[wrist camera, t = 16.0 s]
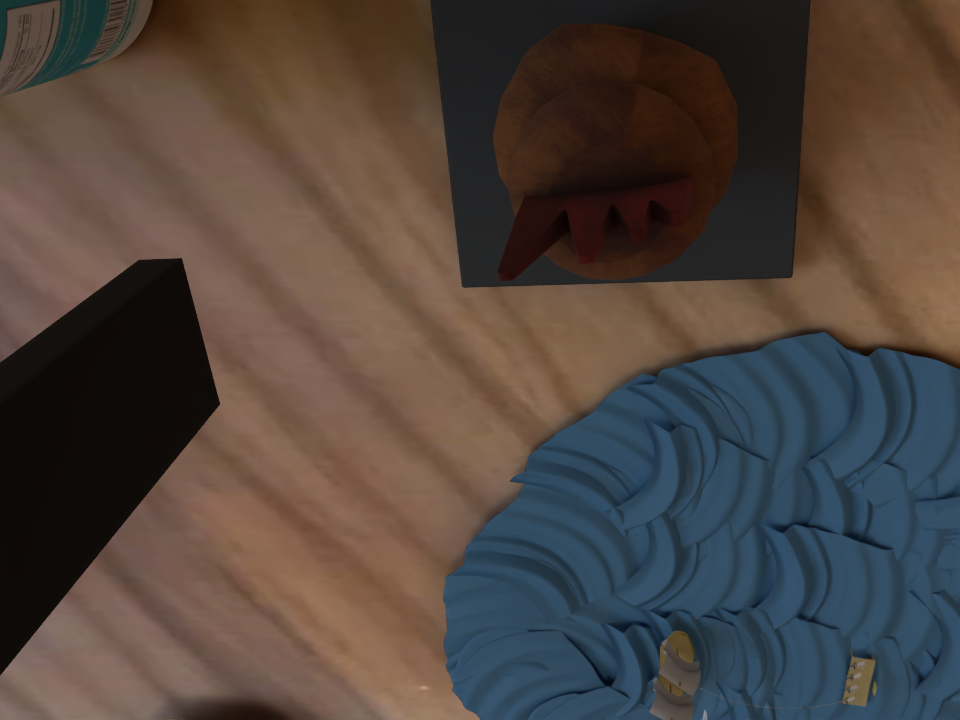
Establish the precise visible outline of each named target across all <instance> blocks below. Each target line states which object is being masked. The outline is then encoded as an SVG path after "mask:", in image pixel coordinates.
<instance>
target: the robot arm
mask: <svg viewBox="0 0 960 720" xmlns="http://www.w3.org/2000/svg"><path fill="white" fill-rule="evenodd" d="M219 405H220V402H219V398H218V395H217V391H216V387H215V383H214V379H213V375H212V372H211V368H210V364H209V360H208V356H207V353H206V349H205V345H204V341H203V337H202V333H201V330H200V326H199V322H198V318H197V314H196V311H195V307H194V303H193V299H192V295H191V291H190V288H189V284H188V280H187V276H186V272H185V269H184V265H183V261H182V258H177V259H151V260H138V261H137V262H136V263H134V264H133V265H132V266H130V267H129V268H127V269H126V270H125V271H123V272H122V273H121V274H119V275H118V276H117V277H115V278H114V279H113V280H111V281H110V282H109V283H107V284H106V285H105V286H103V287H102V288H100V289H99V290H98V291H96V292H95V293H94V294H92V295H91V296H90V297H88V298H87V299H86V300H84V301H83V302H82V303H80V304H79V305H78V306H76V307H75V308H73V309H72V310H71V311H69V312H68V313H67V314H65V315H64V316H63V317H61V318H60V319H59V320H57V321H56V322H55V323H53V324H52V325H51V326H49V327H48V328H46V329H45V330H44V331H42V332H41V333H40V334H38V335H37V336H36V337H34V338H33V339H32V340H30V341H29V342H28V343H26V344H25V345H24V346H22V347H21V348H19V349H18V350H17V351H15V352H14V353H13V354H11V355H10V356H9V357H7V358H6V359H5V360H3V361H2V362H1V363H0V675H1V674H2V673H3V671H4V670H5V669H6V668H7V667H8V665H9V664H10V663H11V662H12V660H13V659H14V658H15V657H16V655H17V654H18V653H19V652H20V650H21V649H22V648H23V647H24V646H25V644H26V643H27V642H28V641H29V639H30V638H31V637H32V636H33V634H34V633H35V632H36V631H37V630H38V628H39V627H40V626H41V625H42V623H43V622H44V621H45V620H46V618H47V617H48V616H49V615H50V613H51V612H52V611H53V610H54V609H55V607H56V606H57V605H58V604H59V602H60V601H61V600H62V599H63V597H64V596H65V595H66V594H67V592H68V591H69V590H70V589H71V588H72V586H73V585H74V584H75V583H76V581H77V580H78V579H79V578H80V576H81V575H82V574H83V573H84V571H85V570H86V569H87V568H88V567H89V565H90V564H91V563H92V562H93V560H94V559H95V558H96V557H97V555H98V554H99V553H100V552H101V551H102V549H103V548H104V547H105V546H106V544H107V543H108V542H109V541H110V539H111V538H112V537H113V536H114V534H115V533H116V532H117V531H118V530H119V528H120V527H121V526H122V525H123V523H124V522H125V521H126V520H127V518H128V517H129V516H130V515H131V513H132V512H133V511H134V510H135V509H136V507H137V506H138V505H139V504H140V502H141V501H142V500H143V499H144V497H145V496H146V495H147V494H148V492H149V491H150V490H151V489H152V488H153V486H154V485H155V484H156V483H157V481H158V480H159V479H160V478H161V476H162V475H163V474H164V473H165V471H166V470H167V469H168V468H169V467H170V465H171V464H172V463H173V462H174V460H175V459H176V458H177V457H178V455H179V454H180V453H181V452H182V451H183V449H184V448H185V447H186V446H187V444H188V443H189V442H190V441H191V439H192V438H193V437H194V436H195V434H196V433H197V432H198V431H199V430H200V428H201V427H202V426H203V425H204V423H205V422H206V421H207V420H208V418H209V417H210V416H211V415H212V413H213V412H214V411H215V410H216V409H217V407H218V406H219Z"/></svg>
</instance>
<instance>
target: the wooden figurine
mask: <svg viewBox="0 0 960 720" xmlns="http://www.w3.org/2000/svg"><path fill="white" fill-rule="evenodd" d="M493 142H494V148H495V154H496V160H497V165H498V171H499V176H500V178H501V179H502V181H503V182H504V184H505V185H506V187H507V188H508V192H509V196H510V200H511V204H512V209H513V213H514V216H515V217H516V218H515V221H514V224H513V227H512V230H511V233H510V236H509V239H508V242H507V245H506V248H505V251H504V254H503V257H502V259H501V262H500V265H499V268H498V277H499V280H500V281H510V280H513V279H515V278H516V277H517V276H518V275H520V274H521V273H522V272H523V271H524V270H525V269H526V268H527V267H529V266H530V265H531V264H532V263H533V262H534V261H535V260H537V259H538V258H539V257H540V256H541V255H542V254H544V255H545V256H546V257H547V258H549V259H550V260H551V261H552V262H554V263H555V264H556V265H557V266H559V267H561V268H563V269H565V270H568V271H570V272H572V273H574V274H577V275H579V276H581V277H583V278H586V279H600V280H614V281H616V280H622V279H627V278H633V277H638V276H644V275H647V274H649V273H651V272H653V271H655V270H657V269H659V268H661V267H663V266H665V265H667V264H669V263H670V262H672V261H674V260H675V259H677V258H678V257H679V256H680V255H681V254H682V253H683V252H684V251H685V250H686V249H687V248H688V247H689V246H690V245H691V244H692V243H693V242H694V241H695V240H696V239H697V238H698V237H699V235H700V234H701V233H702V232H703V231H704V230H705V227H706V224H707V220H708V217H709V214H710V212H711V211H712V209H713V208H714V207H715V206H716V205H717V204H718V203H719V202H720V201H721V200H722V198H723V196H724V194H725V192H726V189H727V186H728V183H729V180H730V177H731V174H732V171H733V168H734V165H735V162H736V159H737V156H738V126H737V103H736V101H735V99H734V97H733V95H732V93H731V91H730V89H729V87H728V85H727V83H726V81H725V78H724V76H723V74H722V72H721V70H720V68H719V66H718V64H717V62H716V60H715V59H714V58H712V57H709V56H707V55H705V54H703V53H701V52H699V51H697V50H695V49H693V48H691V47H689V46H687V45H685V44H683V43H681V42H679V41H676V40H673V39H669V38H666V37H663V36H659V35H656V34H653V33H649V32H646V31H643V30H639V29H633V28H627V27H621V26H615V25H609V24H569V23H564V24H562V25H561V26H559V27H558V28H557V29H555V30H554V31H553V32H551V33H550V34H549V35H547V36H546V37H545V38H543V39H542V40H541V41H539V42H538V43H537V44H535V45H534V46H533V47H531V48H530V49H529V50H528V51H527V52H526V53H525V54H524V56H523V58H522V60H521V62H520V64H519V65H518V67H517V69H516V71H515V73H514V75H513V77H512V79H511V80H510V82H509V84H508V86H507V88H506V90H505V92H504V93H503V95H502V97H501V100H500V105H499V110H498V114H497V119H496V123H495V128H494V133H493Z"/></svg>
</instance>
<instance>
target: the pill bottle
mask: <svg viewBox="0 0 960 720" xmlns="http://www.w3.org/2000/svg"><path fill="white" fill-rule="evenodd" d="M152 3H153V0H0V97H2V96H5V95H8V94H11V93H14V92H17V91H20V90H23V89H26V88H29V87H33V86H36V85H39V84H42V83H45V82H48V81H51V80H54V79H57V78H60V77H63V76H66V75H69V74H72V73H75V72H78V71H82V70H85V69H88V68H90V67H93V66H96V65H98V64H101V63H104V62H106V61H108V60H110V59H112V58H114V57H116V56H117V55H119V54H120V53H122V52H123V51H124V50H125V49H127V48H128V47H129V46H130V45H131V44H132V43H133V41H134V40H135V39H136V38H137V36H138V35H139V34H140V32H141V31H142V29H143V27H144V25H145V23H146V21H147V19H148V16H149V14H150V11H151V7H152Z"/></svg>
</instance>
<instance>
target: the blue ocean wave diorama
mask: <svg viewBox="0 0 960 720" xmlns="http://www.w3.org/2000/svg"><path fill="white" fill-rule="evenodd" d="M509 482H517V483H526V484H525V485H524V486H523V488H522V490H521V492H520V494H519V496H518V497H517V499H516V500H515V501H514V502H513V503H511V504H510V505H509V506H508V507H507V508H505V509H504V510H503V511H502V512H501V513H499V514H498V515H497V516H495V517H494V518H493V519H491V520H490V521H489V522H488V523H487V524H486V525H485V527H484V528H483V530H482V531H481V532H480V533H479V534H478V535H477V536H476V537H475V538H474V539H473V540H472V542H471V543H470V544H469V545H468V546H467V547H466V549H465V561H464V565H463V566H461V567H460V568H458V569H457V570H456V571H455V572H454V573H453V574H450V575H448V576H446V583H445V590H444V596H443V601H444V603H445V607H446V617H447V633H446V637H445V640H444V648H445V653H446V657H447V665H446V668H447V671H448V672H449V675H450V677H451V680H452V682H453V685H454V686H453V689H452V690H453V692H454V693H455V694H456V695H457V696H458V697H459V699H460V700H461V701H462V703H463V705H464V707H465V708H466V709H467V710H469V711H472V712H474V713H475V714H477V715H478V717H479V718H480V720H960V369H957V368H955V367H952V366H950V365H948V364H946V363H943V362H941V361H938V360H934V359H931V358H926V357H919V356H913V355H909V354H906V353H903V352H899V351H892V350H888V349H883V348H878V349H876V350H875V351H874V352H873V353H872V354H871V355H869V356H864V355H863V354H861V353H860V352H859V351H857V350H850V349H845V348H844V347H843V346H842V345H841V344H840V343H839V342H838V341H836V340H835V339H834V338H832V337H831V336H830V335H829V334H827V333H826V332H822V333H817V334H809V335H802V336H798V337H793V338H787V339H781V340H777V341H774V342H771V343H769V344H767V345H766V346H764V347H763V348H762V349H760V350H758V351H754V352H746V353H739V354H733V355H726V356H715V357H709V358H704V359H701V360H698V361H695V362H691V363H682V364H679V365H677V366H675V367H671V368H666V369H663V370H661V371H660V372H659V374H658V377H656V376H652V375H648V374H641V375H640V376H639V377H637V378H635V379H634V380H632V381H630V382H628V383H626V384H625V385H623V386H622V387H620V388H619V389H617V390H616V391H614V392H612V393H611V394H610V395H609V396H607V397H606V398H605V399H604V400H603V401H602V402H601V404H600V405H599V406H598V408H597V409H596V410H595V411H594V412H593V413H592V414H590V415H588V416H586V417H585V418H583V419H581V420H580V421H578V422H576V423H575V424H573V425H571V426H569V427H567V428H565V429H563V430H561V431H560V432H558V433H557V434H555V435H554V436H553V437H552V438H551V439H550V440H549V441H547V442H546V443H544V444H542V445H541V446H540V447H539V448H538V449H537V450H536V451H534V452H533V453H531V454H530V455H529V457H528V461H527V467H526V470H525V472H523V473H521V474H518V475H516V476H514V477H513V478H512V479H511V480H510V481H509Z"/></svg>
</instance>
